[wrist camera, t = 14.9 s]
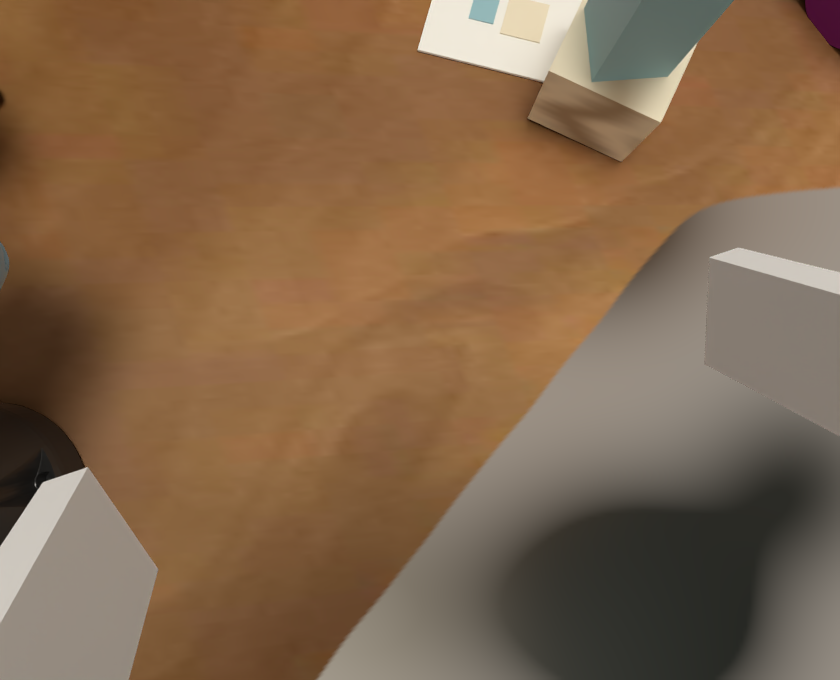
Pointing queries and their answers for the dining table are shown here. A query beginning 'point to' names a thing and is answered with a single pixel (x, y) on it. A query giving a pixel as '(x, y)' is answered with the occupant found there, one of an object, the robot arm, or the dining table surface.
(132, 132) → the dining table surface
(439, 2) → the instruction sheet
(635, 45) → the teal brick
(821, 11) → the mounting bracket
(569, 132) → the birch base brick
